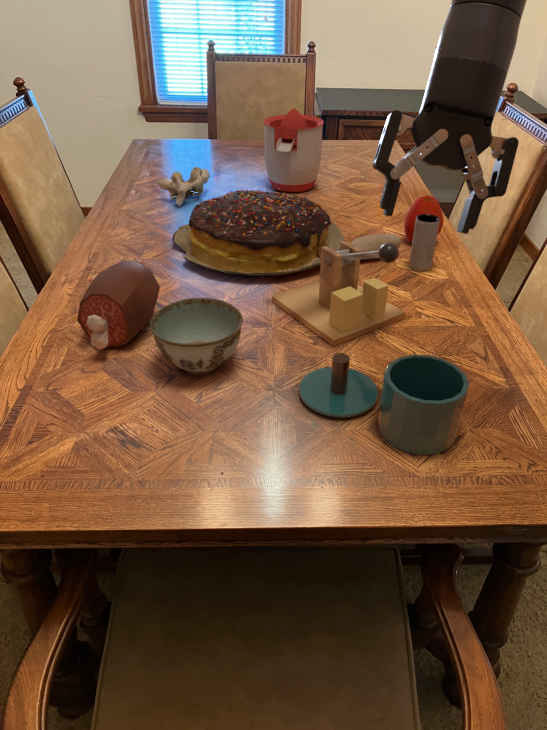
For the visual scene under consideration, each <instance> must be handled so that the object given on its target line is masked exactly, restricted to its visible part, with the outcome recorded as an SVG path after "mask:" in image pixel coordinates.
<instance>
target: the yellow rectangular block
mask: <svg viewBox="0 0 547 730" xmlns="http://www.w3.org/2000/svg"><path fill="white" fill-rule="evenodd" d="M362 285H363V286H362V287H363V294H364V295H363V304H362V313H363V314H364V315H366V316H367V317H369V318H371V319H372V320H376V319H379V318H382V317H384V316H385V309H386V302H388V294H389V284H387V283H385V282H384V281H382V280H380V279H378V278H377V277H372V278H370V279H367V280H364V281H363V284H362Z"/></svg>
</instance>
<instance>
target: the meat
mask: <svg viewBox="0 0 547 730" xmlns="http://www.w3.org/2000/svg"><path fill="white" fill-rule="evenodd" d="M160 289H161V286H160V284H159V282H158V280H157V279H156V276H155V275H154V272H153V271H152V269H151V268H149V267H148V266H146V265H145V263H144V262H143V261H142V260H141V259H139V258H135V259H132V260H120V261H118V262H116V263H114V264H113V265H111V266H109V267H107V268H105V269H103V270H101V271H100V272H99V273H98V274H97V275H96V276H95V277H94V278H93V280H92V281H91V282H90V284H89V285H88V286H87V289H86V290H85V292H84V294H83V296H82V298H81V299H80V302H79V306H78V313H77V318H76V320H77V323H78V324H79V326H80V327H81V329H82V331H83V332H84V334H85V336H86V337H87V339H89V340H90V344H91V346H93V347H94V348H95V349H97V350H99V351H100V350H104V349H106V348H109V347H110V348H119V347H120V346H122V345H125V344H127V343H128V342H129V341H131V340H132V339H133V338H134V337H136V335H137V334H139V332H140V331H141V330H142V329H144V327H145V326H146V325H147V323H148V322H150V320H151V319H152V317H153V315H154V312H155V311H154V310H155V308H156V304H157V301H158V299H159V294H160Z"/></svg>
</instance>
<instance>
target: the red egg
mask: <svg viewBox="0 0 547 730" xmlns="http://www.w3.org/2000/svg"><path fill="white" fill-rule="evenodd" d="M420 214H432V215H435V216H437V217H439V218H440V222H439V227H438V233H437V236H438V235H439V234H440V233H441V231H442V228H443V226H444V213H443V210H442V207H441V205H440V202H439V201H438V199H437V198H436V197H434V196H431V195H430V194H427V195H424V196H419V197H417V199H416V200H414V202H413V203H412V204H411V206H410V207H409V209H408V210H407V213H406V215H405V217H404V223H403V227H404V235H405V238H406V239H407V241H408V242H409V243H411V244H412V240H413V234H414V227H415V221H416V216H418V215H420Z"/></svg>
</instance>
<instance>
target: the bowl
mask: <svg viewBox="0 0 547 730" xmlns="http://www.w3.org/2000/svg"><path fill="white" fill-rule="evenodd" d="M243 323H244V318H243V314H242V313H241V311H240V310H239V309H238V307H236V306H234V305H233V304H231V303H229V302H226V301H224V300H221V299H218V298H217V299H216V298H211V297H191V298H185V299H181V300H176V301H174V302H170V303H169V304H167V305H165V306H163V307H161V308H160V309H159V310H157V311H156V312H155V314H153V315H152V317H151V318H150V320H149V331H150V332H151V334H152V335H153V337H154V340H155V343H156V345H157V348H158V350H159V352H160V353H161V355H162V356H163V357H164V358H165V360H167V361H168V362H169V363H170V364H171V365H173V366H175V367H177V368H178V369H179V368H180V369H181V370H184V371H185V372H186V373H188V374H190V375H193V376H194V375H196V376H202V375H208V374H210V373H213V372H214V371H216V370H217V369H219V367H220V366H221V365H223V364H224V363H226V362H227V361H228V360H229V359H230V358H231V357H232V356H233V354H234V353H235V351H236V349H237V348H238V346H239V342H240V339H241V333H242V326H243Z"/></svg>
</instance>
